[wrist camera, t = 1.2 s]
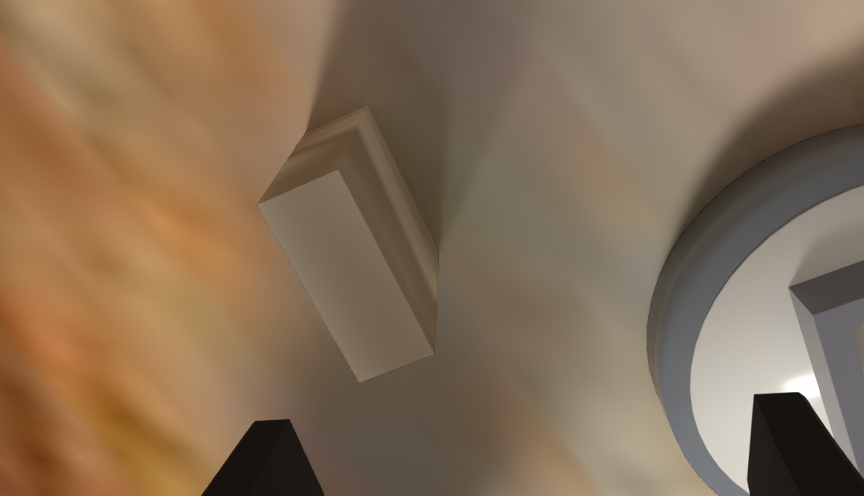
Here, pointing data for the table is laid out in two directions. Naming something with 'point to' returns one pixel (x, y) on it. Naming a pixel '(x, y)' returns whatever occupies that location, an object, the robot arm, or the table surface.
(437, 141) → the table surface
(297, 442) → the robot arm
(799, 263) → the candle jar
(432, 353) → the wooden plank block
